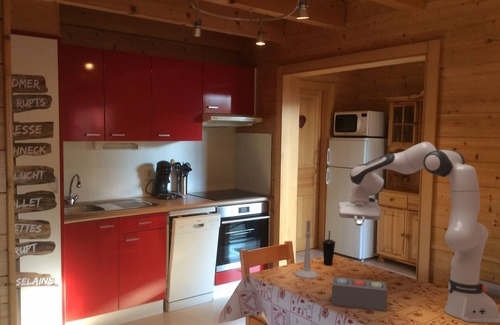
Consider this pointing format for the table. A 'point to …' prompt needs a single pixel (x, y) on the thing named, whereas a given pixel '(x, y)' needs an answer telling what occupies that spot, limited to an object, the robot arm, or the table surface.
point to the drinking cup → (328, 251)
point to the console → (359, 295)
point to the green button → (376, 284)
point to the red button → (359, 282)
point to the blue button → (341, 280)
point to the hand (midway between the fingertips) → (359, 224)
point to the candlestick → (307, 259)
